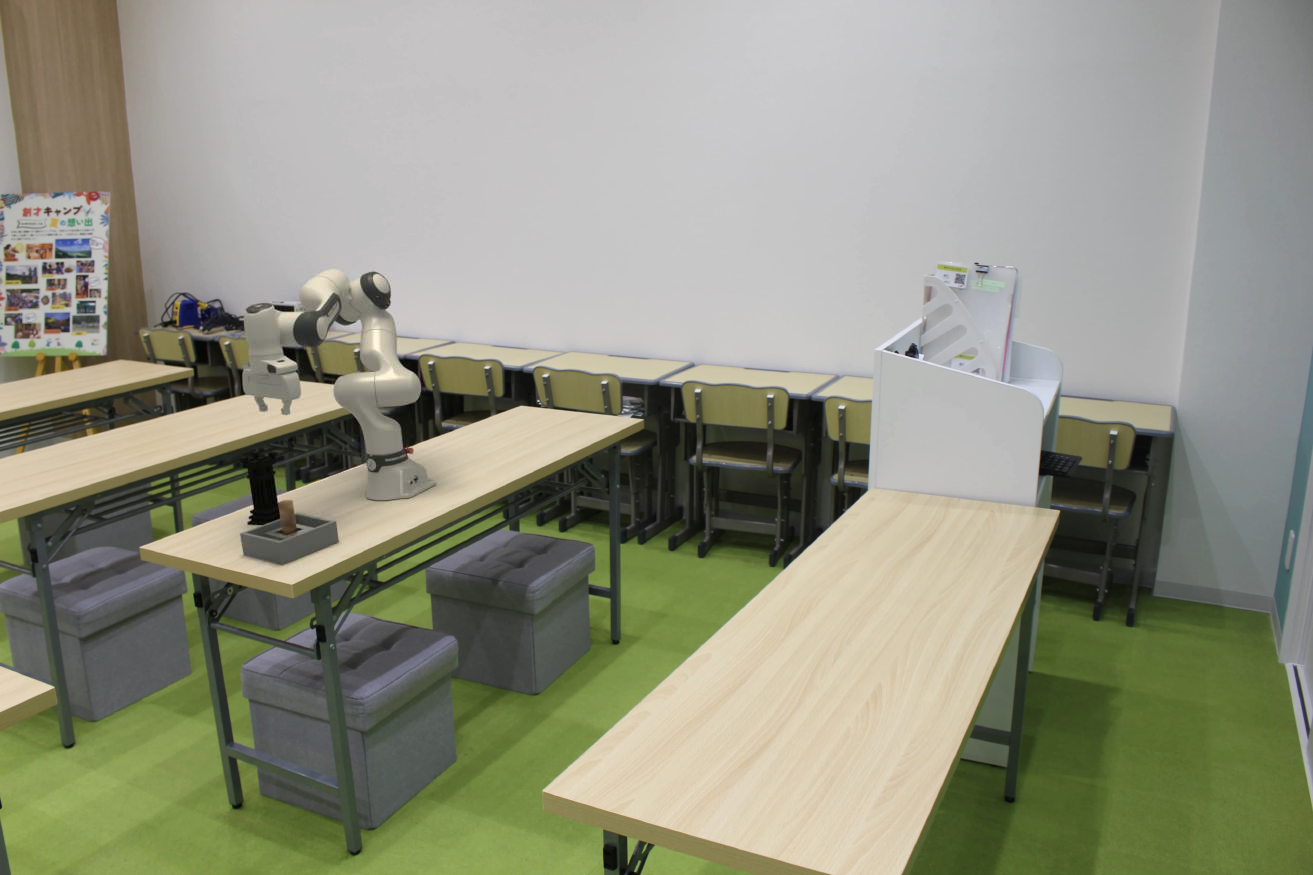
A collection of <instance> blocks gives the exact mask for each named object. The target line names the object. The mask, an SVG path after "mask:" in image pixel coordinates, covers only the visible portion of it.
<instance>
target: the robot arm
mask: <svg viewBox="0 0 1313 875" xmlns="http://www.w3.org/2000/svg"><path fill="white" fill-rule="evenodd" d="M391 290H392V288H391V285H390V282H389V281H388V279H387V278H386V277H385V276H384V275H383V274H381V273H379V272H377V271H369V272H366V273H364V274H362V275H361V276H359V277H358V278H356V279H354V280H351V282H350V280H349V277H348V276H347V274H346V273H345V272H344V271H342V270H340V269H337V268H330V269H326V270H324V271H323V270H322V271H321V272H319V273H317V274H316V275H314V276H313V277H311V278H310V279H309V280H308V281H306V282H305V283H304V284H303V286H302V287H301V289H300V291H299V302H300V304H301V306H302V308H303V309H304V310H305V311H281V310H277V309H275V306H274V305H273V303H270V302H259V303H256V304H251V305H249V306H248V307H246V308H245V310H244V313H243V314H244V315H243V325H244V326H243V328H244V335H245V336H244V337H245V340H246V342H247V345H248V353H247V354H248V361H246V362H245V364H244V365H243V368H242V369H243V371H242V389H243V392H244V394H245V395H247V396H252V397H254V402H256V405H257V406H258V411H259V412H263V413H264V412H268V411H269V409H268V404H266V402H265V400H264V399H265V398H268V399H275V400H281V404H283V405H282V408H280V411H281V415H283V416H287V415H290V414H291V409H290V408H291V407H292V406H291V405H292V403H293V400H298V399H300V397H301V395H302V390H301V381H300V377H299V374H298V372H297V370H298V369H299V368H298V363H297V362H296V361H294V360H292V359H290V358H289V357H287V356H286V355H284V350H283V347H290V348H292V347H304V348H313V349H314V348H318V347H320V346H321V345H322V344H323V343H324V342H325V340H326V339H327V336H328V332H329V330H330V329H331V327H332V326H333V324H334V323H336V324H339V325H342V326H350V325H352V324H355V323H356V322H358V321H359V320H360V323H361V331H360V341H359V342H360V346H359V347H360V351H359V358H360V361H361V363H362V365H364V366H365V367H366V369H368V370H370V371H366V372H365V371H363V372H352V373H348V374H344V375H341V376H339V377H338V378H337V379H336V381H335V382H334V385H333V396H334V399H335V401H336V402H337V404H338V405H339V406H340V407H342V408H343V409H345V410H347V411H348V412H349V413H350V414H352V415H353V416H354V417H355V418H356V421H357V422H358V423H359V425H360V427H361V430H362V434H363V438H364V439H363V440H364V445H365V452H364V454H365V455H364V456H365V457H364V458H365V464H366V467H367V468H366V469H367V487H366V494H365V497H366V498H367V499H369V500H373V501H389V500H390V501H392V500H398V499H409V498H410V499H411V498H413V497H415V496H417V495H419V494H420V493H422V492H424V491H426V490H428V489H430V488H432V487H434V486H435V485H436V484H437V482H436V480H434V479H431V478H428V474H427V470H426V468H425V467H424V466H423V465H422V464H420V463H418V462H417V461H415V460H413V459H411V458H410V457H409V455H413V454H414V452H415V449H414V448H413V447H410V446H409V447H408V446H407V447H403V446H404V444H403V435H402V427H401V425H400V423H399V422H398V421H396V420H395V419H393V418H391V417H389V416H387V415H384V414H382V413H381V412H380V410H379V408H386V407H387V408H388V407H390V408H391V407H401V406H406V405H409V404H413V403H416V401H417V400H418V399H419V397H420V396H421V392H422V383H421V381H420V379H419V377H418V375H417V374H416V373H415V372H413V371H411V370H409V369H408V368H406V367H404V366H403V364H402V363H401V362H400V360H399V358H398V348H397V346H398V343H397V342H398V338H397V335H398V334H397V327H396V324H395V319H394V317H393V316H392V314H391V313H390V312H388V311H387V309H389V307H390V306H391V304H392V302H391V296H392V292H391ZM408 454H409V455H408Z"/></svg>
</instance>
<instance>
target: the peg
mask: <svg viewBox="0 0 1313 875" xmlns="http://www.w3.org/2000/svg"><path fill="white" fill-rule="evenodd" d="M278 505H279V512H280V519H281V526H282V532H283V534H284V535H289V534H292V533H295V532H297V527H296V521H295V509H294V508H295V507H294V501H293V500H292V499H284V500H281V501H278Z"/></svg>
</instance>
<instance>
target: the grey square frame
mask: <svg viewBox="0 0 1313 875" xmlns="http://www.w3.org/2000/svg"><path fill="white" fill-rule="evenodd" d="M296 527H297V532H295V533H292V534H289V535H284V534H283V532H282V527H280V528H277V529H275V530H272V531H269V532H267V533H264V537H266V538H270V539H274V540H278V541H281V540H284V539H287V538H289V537H292V536H295V535H297V534H300V533H302V532H305V531H308V530H310V529H313V528H312V527H308V526H303V525H299V524H296Z"/></svg>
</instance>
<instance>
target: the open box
mask: <svg viewBox="0 0 1313 875" xmlns="http://www.w3.org/2000/svg"><path fill="white" fill-rule="evenodd" d="M294 514H295V521H296V524H299V525H303V526H308V527H312V528H313V529H310V530H308V531H305V532H302V533H300V534H297V535H295V536H292V537H289V538H287V539H284V540H281V541H278V540H274V539H270V538H266V537H264V533H267V532H269V531H272V530H275V529H277V528H280V527H282V526H281V519H279V520H276V521H273V522H270V523H267V524H265V525H258V526H256V527H254V528H250V529H248V530H246V531H243V532H240V533H239V536H240V542H241V547H242V553H243V554H242V555H243V556H246V557H251V558H255V559H258V560H262V561H266V562H270V563H275V564H278V565H282V566H284V565H286V564H289V563H290V562H291V563H292V562H294V561H295V560H298V559H302V558H303V557H306V556H308V555H311V554H313V553H315V552H319V551H320V550H323V549H326V548H328V547H330V546H333V545H335V544H338V543H339V542H340V539H339V534H338V533H339V532H338V525H337V521H336V520H333V519H328V518H323V517H318V516H314V515H309V514H304V513H300V512H297V513H296V512H294Z"/></svg>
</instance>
